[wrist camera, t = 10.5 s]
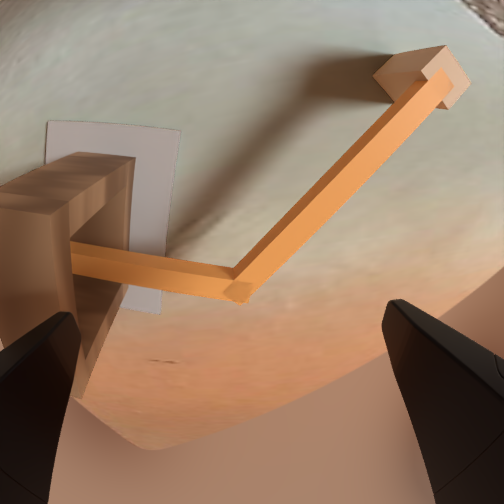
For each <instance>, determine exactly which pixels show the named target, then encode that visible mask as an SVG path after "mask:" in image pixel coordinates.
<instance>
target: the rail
mask: <svg viewBox="0 0 504 504" xmlns="http://www.w3.org/2000/svg"><path fill="white" fill-rule="evenodd" d="M372 77H373V78H374V79H375V80H376V81H377V82H378V83H379V84H380V86H381V87H382V88H383V89H384V90H385V91H386V93H387V94H388V95H389V96H390V97H391V99H392V100H393V101H394V103H393V104H392V105H391V106H390V107H389V108H388V109H387V110H386V112H385V113H384V114H383V115H382V116H381V117H380V118H379V119H378V120H377V121H376V122H375V123H374V124H373V125H372V126H371V127H370V128H369V129H368V130H367V131H366V132H365V133H364V134H363V135H362V136H361V137H360V138H359V139H358V140H357V141H356V142H355V143H354V144H353V145H352V146H351V147H350V148H349V150H348V151H347V152H346V153H345V154H344V155H343V156H342V157H341V158H340V159H339V160H338V161H337V162H336V163H335V164H334V165H333V166H332V167H331V168H330V169H329V170H328V171H327V172H326V173H325V174H324V175H323V176H322V177H321V178H320V179H319V180H318V181H317V182H316V183H315V185H314V186H313V187H312V188H311V189H310V190H309V191H308V192H307V193H306V194H305V195H304V196H303V197H302V198H301V199H300V200H299V201H298V202H297V203H296V204H295V205H294V206H293V207H292V208H291V209H290V210H289V211H288V212H287V213H286V214H285V215H284V216H283V218H282V219H281V220H280V221H279V222H278V223H277V224H276V225H275V226H274V227H273V228H272V229H271V230H270V231H269V232H268V233H267V234H266V235H265V236H264V237H263V238H262V239H261V240H260V241H259V242H258V243H257V244H256V245H255V246H254V247H253V248H252V250H251V251H250V252H249V253H248V254H247V255H246V256H245V257H244V258H243V259H242V260H241V261H240V262H239V263H238V264H237V265H236V266H235V267H234V268H230V267H223V266H217V265H211V264H204V263H198V262H192V261H185V260H179V259H173V258H167V257H161V256H155V255H148V254H142V253H136V252H131V251H125V250H119V249H113V248H107V247H101V246H96V245H90V244H84V243H78V242H73V241H70V249H71V263H72V273H73V274H78V275H82V276H87V277H92V278H97V279H103V280H108V281H113V282H118V283H124V284H129V285H135V286H140V287H146V288H152V289H158V290H163V291H169V292H176V293H182V294H188V295H194V296H201V297H208V298H214V299H221V300H228V301H234V302H235V303H237V304H238V305H241V304H242V303H248V302H249V298H250V296H251V295H252V294H253V293H254V292H255V291H256V290H257V289H258V288H259V287H260V286H261V285H262V284H263V283H264V282H265V281H266V280H267V279H268V278H270V277H271V276H272V275H273V274H274V273H275V272H276V271H277V270H278V269H279V268H280V267H281V266H282V265H283V264H284V263H285V262H286V261H287V260H288V259H289V258H290V257H291V256H292V255H293V254H294V253H295V252H296V251H297V250H298V249H299V248H300V247H301V246H302V245H303V244H304V243H305V242H306V241H307V240H308V239H309V238H310V237H311V236H312V235H313V234H314V233H315V232H316V231H317V230H318V229H319V228H320V227H321V226H322V225H323V224H324V223H325V222H326V221H327V220H328V219H329V218H330V217H331V216H332V215H333V214H334V213H335V212H336V211H337V210H338V209H339V208H340V207H341V206H342V205H343V204H344V203H345V202H346V201H347V200H348V199H349V198H350V197H351V196H352V195H353V194H354V193H355V192H356V191H357V190H358V189H359V188H360V187H361V186H362V185H363V184H364V183H365V182H366V181H367V180H368V179H369V178H370V177H371V176H372V174H373V173H374V172H375V171H376V170H377V169H378V168H379V167H380V166H381V165H382V164H383V163H384V162H385V161H386V160H387V159H388V158H389V157H390V156H391V155H392V154H393V153H394V151H395V150H396V149H397V148H398V147H399V146H400V145H401V144H402V143H403V142H404V141H405V140H406V139H407V138H408V137H409V136H410V135H411V133H412V132H413V131H414V130H415V129H416V128H417V127H418V126H419V125H420V124H421V123H422V122H423V121H424V119H425V118H426V117H427V116H428V115H429V114H430V113H431V112H432V111H433V110H434V109H435V108H439V109H447V110H449V109H450V107H451V106H452V105H453V104H454V103H455V102H456V101H457V99H458V98H459V97H460V96H461V95H462V94H463V93H464V91H465V90H466V89H467V88H468V87H469V86H470V85H471V82H470V80H469V78H468V77H467V75H466V74H465V72H464V70H463V69H462V67H461V66H460V64H459V63H458V61H457V60H456V59H455V57H454V56H453V54H452V53H451V51H450V50H449V49H448V47H447V46H446V45H444V46H437V47H431V48H425V49H419V50H414V51H409V52H403V53H399V54H394V55H393V56H392V57H391V58H390V59H389V60H388V61H387V62H386V63H385V64H384V65H383V66H382V67H381V68H380V69H379V70H377V71H376V72H375V73H374V74H373V75H372Z"/></svg>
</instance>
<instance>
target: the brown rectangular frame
mask: <svg viewBox="0 0 504 504" xmlns="http://www.w3.org/2000/svg"><path fill="white" fill-rule="evenodd" d="M135 162H136V157H130V156H121V155H111V154H101V153H91V152H79V151H78V152H75V153H73V154H70V155H68V156H65V157H63V158H60V159H58V160H56V161H53V162H51V163H49V164H46V165H44V166H42V167H40V168H37V169H35V170H33V171H31V172H29V173H26V174H24V175H22V176H20V177H18V178H16V179H14V180H12V181H10V182H8V183H6V184H4V185H2V186H0V338H1V341H2V344H3V347H4V348H6V347H7V346H9V345H10V344H12V343H13V342H14V341H16V340H17V339H19V338H20V337H22V336H23V335H25V334H26V333H27V332H29V331H30V330H32V329H33V328H35V327H36V326H38V325H39V324H41V323H42V322H44V321H45V320H47V319H48V318H50V317H51V316H53V315H54V314H56V313H57V312H59V311H69V312H71V313H72V314H73V315H74V317H75V320H76V322H77V325H78V327H79V330H80V332H81V336H82V340H81V346H80V350H79V355H78V360H77V365H76V371H75V376H74V381H73V385H72V389H71V393H70V396H72V397H76V398H79V399H82V397H83V394H84V392H85V389H86V386H87V384H88V381H89V378H90V376H91V373H92V371H93V368H94V366H95V363H96V361H97V358H98V356H99V353H100V351H101V348H102V346H103V344H104V341H105V339H106V337H107V334H108V332H109V330H110V327H111V325H112V323H113V320H114V318H115V316H116V314H117V312H118V309H119V307H120V305H121V303H122V301H123V298H124V296H125V294H126V292H127V290H128V284H124V283H118V282H113V281H108V280H103V279H97V278H92V277H87V276H82V275H78V274H73V273H72V263H71V249H70V241H73V242H78V243H84V244H90V245H96V246H101V247H107V248H113V249H119V250H125V251H129V239H130V219H131V204H132V192H133V181H134V171H135Z"/></svg>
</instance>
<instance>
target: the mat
mask: <svg viewBox="0 0 504 504" xmlns="http://www.w3.org/2000/svg"><path fill="white" fill-rule="evenodd" d="M180 135H181V131H180V130H173V129H165V128H156V127H147V126H137V125H127V124H115V123H101V122H83V121H51V120H50V121H48V129H47V143H46V164H49V163H51V162H53V161H56V160H58V159H60V158H63V157H65V156H68V155H70V154H73V153H75V152H78V151H79V152H91V153H101V154H111V155H121V156H130V157H136V162H135V171H134V181H133V192H132V204H131V219H130V239H129V251H131V252H136V253H142V254H148V255H155V256H161V257H165V251H166V240H167V230H168V221H169V212H170V204H171V196H172V188H173V181H174V174H175V167H176V160H177V154H178V148H179V141H180ZM161 304H162V290H158V289H152V288H146V287H140V286H135V285H129V284H128V290H127V292H126V294H125V296H124V298H123V301H122V303H121V305H120V307H121V308H126V309H131V310H136V311H142V312H147V313H153V314H159V315H160V314H161Z"/></svg>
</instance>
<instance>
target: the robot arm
mask: <svg viewBox="0 0 504 504" xmlns="http://www.w3.org/2000/svg"><path fill="white" fill-rule="evenodd" d="M382 332H383V336H384V339H385V343H386V346H387V350H388V354H389V357H390V361H391V365H392V368H393V372H394V375H395V378H396V381H397V383H398V386H399V389H400V391H401V394H402V397H403V400H404V402H405V405H406V408H407V411H408V413H409V416H410V419H411V422H412V425H413V428H414V431H415V434H416V437H417V440H418V443H419V447H420V450H421V453H422V456H423V459H424V462H425V466H426V469H427V473H428V476H429V480H430V483H431V487H432V491H433V493H434V499H435V503H436V504H504V359H502V358H501V357H499V356H498V355H496V354H495V355H494V353H492V352H491V351H489V350H487V349H486V348H484V347H483V346H481V345H479V344H478V343H476V342H475V341H473V340H471V339H470V338H468V337H466V336H465V335H463V334H461V333H460V332H458V331H456V330H455V329H453V328H451V327H450V326H448V325H446V324H444V323H443V322H441V321H439V320H438V319H436V318H434V317H432V316H431V315H429V314H427V313H426V312H424V311H422V310H420V309H419V308H417V307H415V306H414V305H412V304H410V303H408V302H407V301H405V300H403V299H396V300H390V301H389V302H388V303H387V306H386V310H385V313H384V317H383V321H382ZM81 340H82V336H81V332H80V330H79V327H78V325H77V322H76V320H75V317H74V315H73V314H72V313H71V312H69V311H59V312H57V313H56V314H54V315H53V316H51V317H50V318H48V319H47V320H45V321H44V322H42V323H41V324H39V325H38V326H36V327H35V328H33V329H32V330H30V331H29V332H27V333H26V334H25V335H23V336H22V337H20V338H19V339H17V340H16V341H14V342H13V343H12V344H10V345H9V346H7V347H6V348H4V349H3V350H2V351H0V504H48V499H49V491H50V485H51V479H52V472H53V467H54V462H55V457H56V451H57V447H58V442H59V437H60V433H61V428H62V424H63V420H64V416H65V412H66V408H67V404H68V400H69V397H70V393H71V389H72V385H73V381H74V376H75V371H76V365H77V360H78V355H79V350H80V346H81Z"/></svg>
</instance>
